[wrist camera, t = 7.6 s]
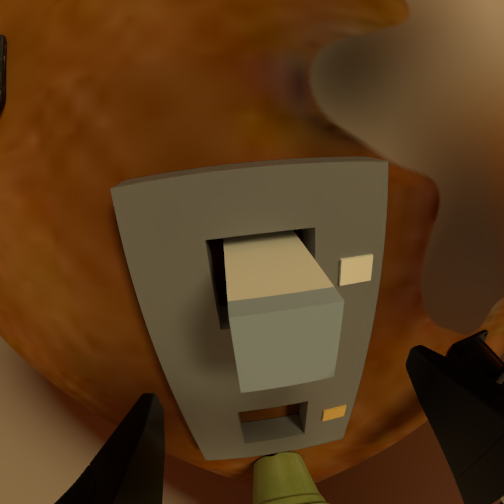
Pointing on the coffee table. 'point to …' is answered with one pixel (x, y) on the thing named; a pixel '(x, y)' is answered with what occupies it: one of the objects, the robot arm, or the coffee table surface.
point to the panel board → (217, 317)
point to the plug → (280, 311)
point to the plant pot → (284, 481)
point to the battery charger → (2, 68)
